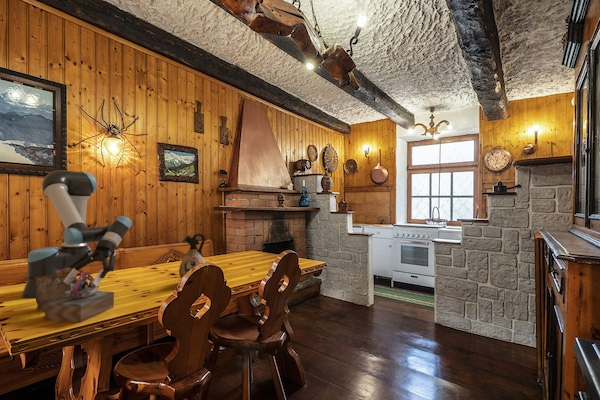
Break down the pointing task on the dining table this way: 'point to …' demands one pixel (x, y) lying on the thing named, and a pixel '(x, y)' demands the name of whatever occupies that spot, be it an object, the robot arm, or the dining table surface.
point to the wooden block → (78, 307)
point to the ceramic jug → (192, 254)
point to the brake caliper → (82, 287)
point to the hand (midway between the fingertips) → (80, 284)
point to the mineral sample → (50, 288)
